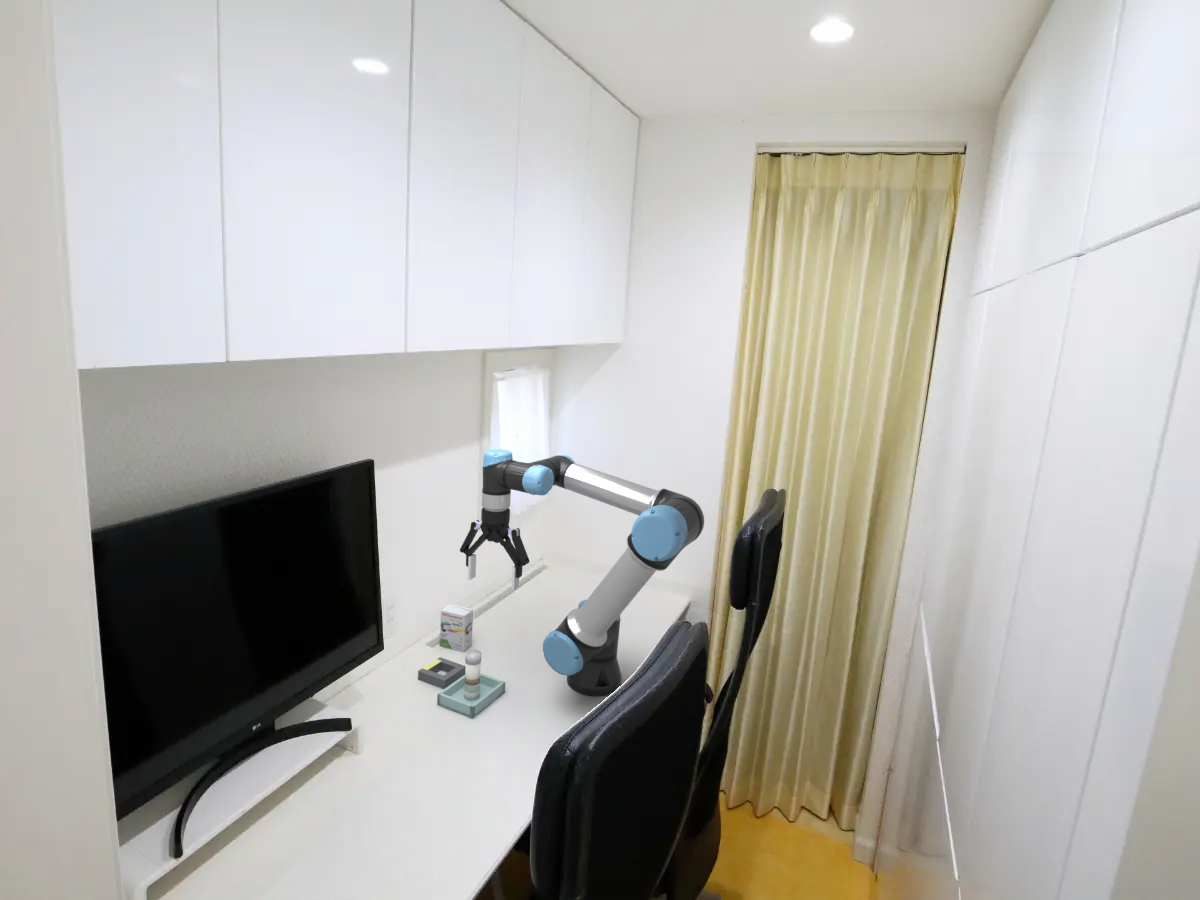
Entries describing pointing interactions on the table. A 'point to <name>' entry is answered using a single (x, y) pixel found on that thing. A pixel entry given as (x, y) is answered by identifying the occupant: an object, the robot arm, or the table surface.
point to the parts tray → (456, 701)
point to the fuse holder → (441, 681)
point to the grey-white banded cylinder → (472, 675)
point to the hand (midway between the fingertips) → (493, 583)
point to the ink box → (456, 627)
